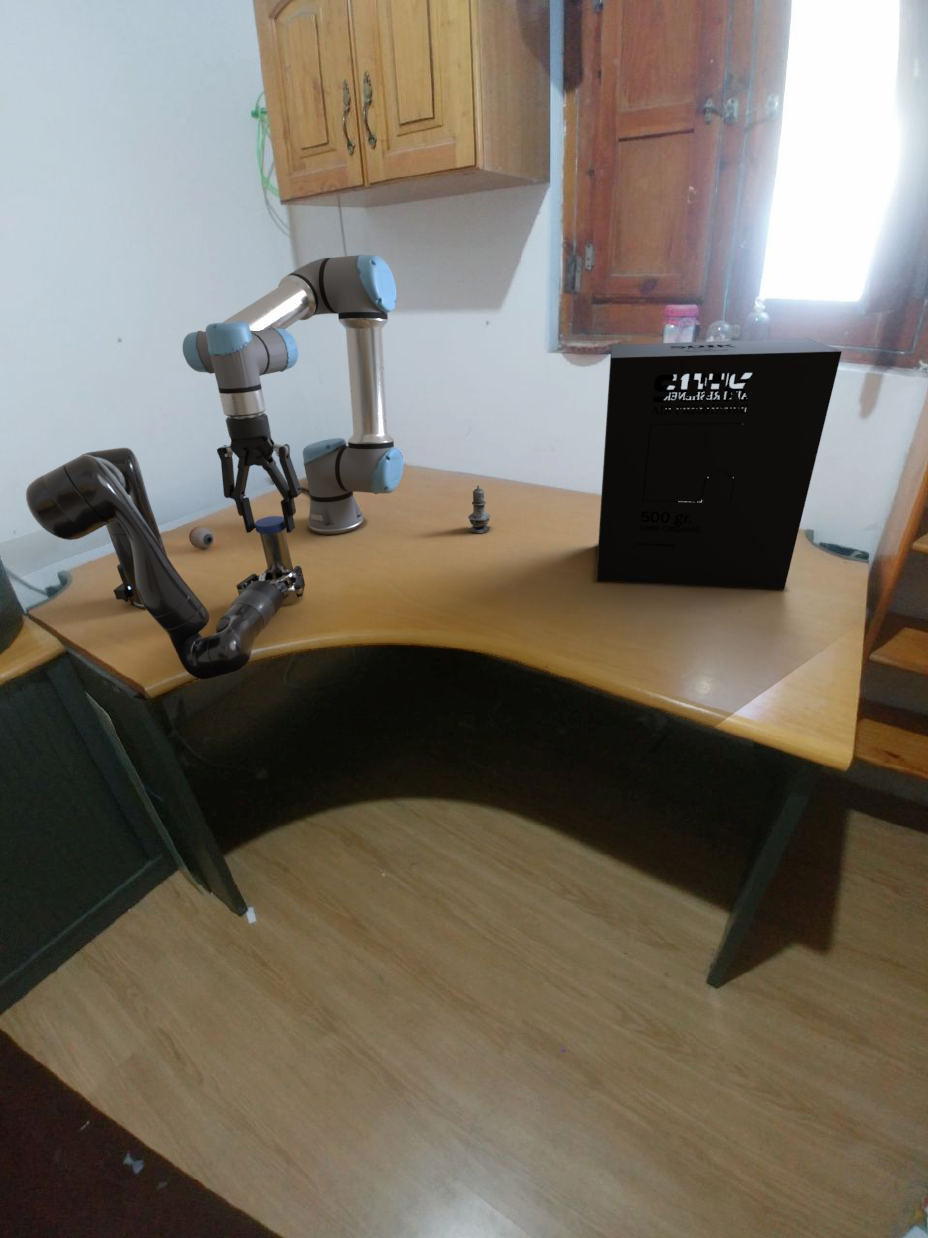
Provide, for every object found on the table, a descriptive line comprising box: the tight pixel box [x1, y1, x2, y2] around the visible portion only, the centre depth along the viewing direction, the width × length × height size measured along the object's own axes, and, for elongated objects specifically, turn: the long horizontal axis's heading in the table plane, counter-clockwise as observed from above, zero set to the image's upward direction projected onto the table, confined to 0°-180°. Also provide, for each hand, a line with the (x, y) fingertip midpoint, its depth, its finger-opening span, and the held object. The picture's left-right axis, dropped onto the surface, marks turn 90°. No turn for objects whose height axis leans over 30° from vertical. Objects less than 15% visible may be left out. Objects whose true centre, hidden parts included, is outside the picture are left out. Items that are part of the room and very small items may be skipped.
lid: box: [254, 515, 286, 534], centre depth 123 cm, size 6×6×2 cm
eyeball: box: [188, 525, 215, 550], centre depth 158 cm, size 6×6×6 cm
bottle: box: [259, 528, 300, 606], centre depth 127 cm, size 5×5×18 cm
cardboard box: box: [596, 337, 842, 591], centre depth 125 cm, size 38×20×45 cm, turn 78°
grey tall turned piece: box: [467, 485, 491, 534], centre depth 158 cm, size 6×6×12 cm
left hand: (286, 569), depth 131 cm, fingers closed on bottle, 5 cm apart
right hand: (271, 530), depth 123 cm, fingers open, 8 cm apart
